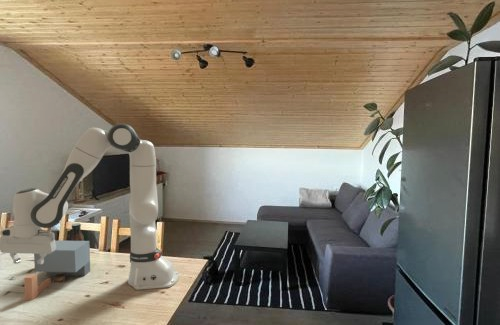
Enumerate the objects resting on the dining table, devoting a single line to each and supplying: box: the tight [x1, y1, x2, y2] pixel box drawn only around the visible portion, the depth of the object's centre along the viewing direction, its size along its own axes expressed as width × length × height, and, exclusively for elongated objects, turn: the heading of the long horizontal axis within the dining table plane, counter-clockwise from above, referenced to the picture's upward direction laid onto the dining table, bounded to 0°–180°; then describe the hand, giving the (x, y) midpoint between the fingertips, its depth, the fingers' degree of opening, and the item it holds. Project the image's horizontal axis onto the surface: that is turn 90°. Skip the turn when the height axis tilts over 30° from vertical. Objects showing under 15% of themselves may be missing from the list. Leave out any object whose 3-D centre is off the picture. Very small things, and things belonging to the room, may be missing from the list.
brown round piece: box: [53, 274, 66, 284], centre depth 134 cm, size 4×4×2 cm
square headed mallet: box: [23, 273, 52, 301], centre depth 124 cm, size 3×12×9 cm, turn 0°
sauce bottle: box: [69, 222, 85, 241], centre depth 154 cm, size 7×6×20 cm
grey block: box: [33, 240, 91, 277], centre depth 137 cm, size 18×12×15 cm, turn 90°
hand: (28, 263), depth 119 cm, fingers open, 8 cm apart
